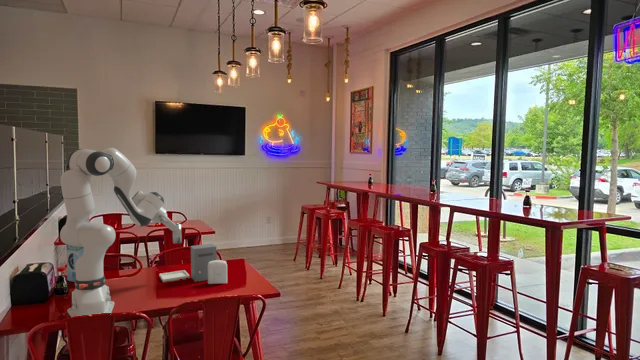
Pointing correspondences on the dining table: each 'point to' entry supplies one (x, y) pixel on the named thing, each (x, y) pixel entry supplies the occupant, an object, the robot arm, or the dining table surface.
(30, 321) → the dining table surface
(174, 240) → the cartridge
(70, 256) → the gum box
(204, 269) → the box
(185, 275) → the tray
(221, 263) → the photo printer
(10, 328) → the dining table surface
